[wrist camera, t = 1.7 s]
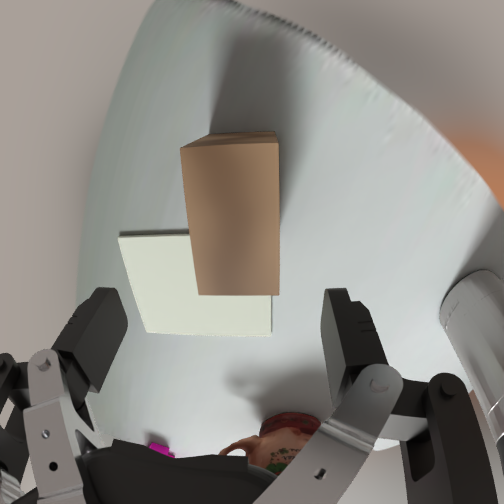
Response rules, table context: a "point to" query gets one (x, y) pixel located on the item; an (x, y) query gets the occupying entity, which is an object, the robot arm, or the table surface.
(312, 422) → the decorative planter
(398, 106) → the table surface
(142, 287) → the mat
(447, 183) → the table surface
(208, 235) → the walnut block
